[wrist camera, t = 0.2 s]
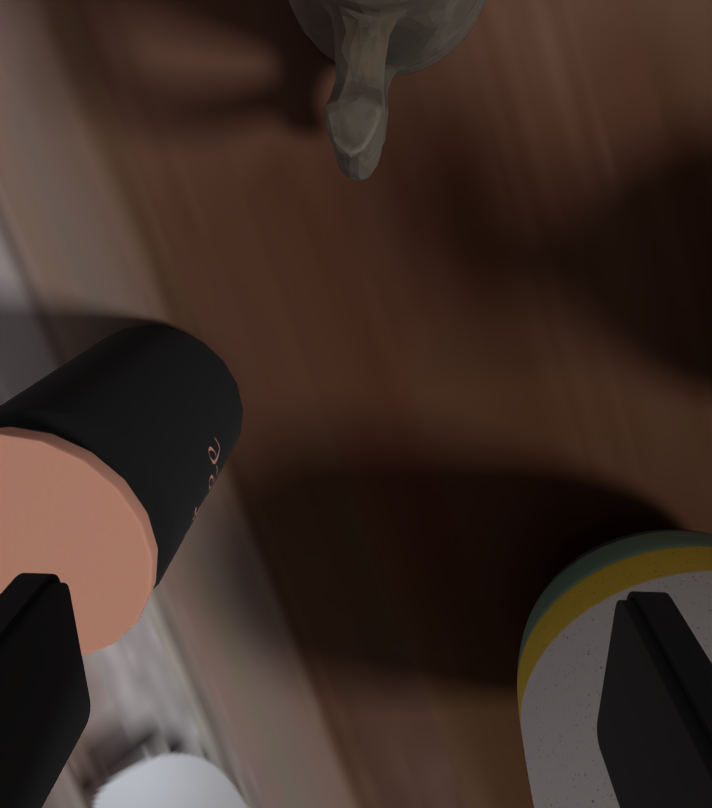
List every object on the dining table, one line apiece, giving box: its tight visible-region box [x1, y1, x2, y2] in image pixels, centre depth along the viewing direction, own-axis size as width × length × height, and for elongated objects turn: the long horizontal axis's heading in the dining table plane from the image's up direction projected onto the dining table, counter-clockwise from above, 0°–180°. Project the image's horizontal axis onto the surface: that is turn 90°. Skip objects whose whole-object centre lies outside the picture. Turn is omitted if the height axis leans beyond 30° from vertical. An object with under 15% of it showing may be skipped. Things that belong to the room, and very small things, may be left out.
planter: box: [517, 529, 712, 808], centre depth 37 cm, size 20×20×21 cm
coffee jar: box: [0, 325, 243, 656], centre depth 35 cm, size 11×11×18 cm
